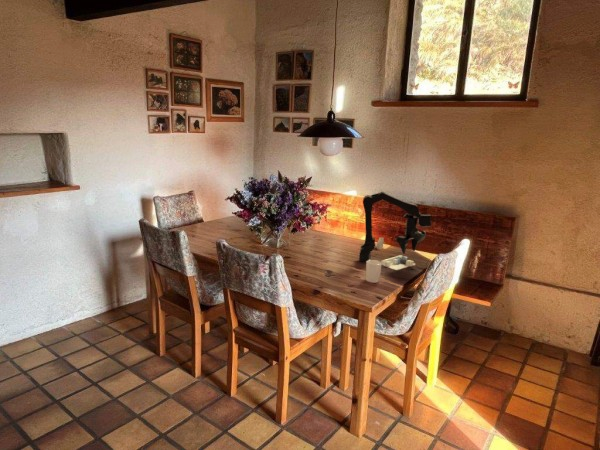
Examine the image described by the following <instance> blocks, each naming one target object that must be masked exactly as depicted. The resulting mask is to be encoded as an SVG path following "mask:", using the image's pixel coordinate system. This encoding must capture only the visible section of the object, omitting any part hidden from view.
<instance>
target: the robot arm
mask: <svg viewBox="0 0 600 450" xmlns="http://www.w3.org/2000/svg"><path fill="white" fill-rule="evenodd" d="M380 201H385V202H387V203H390V204H392V205H394V206H396V207H399V208H401V209H402V210H403V211H405V212H406V213H405V214H404V215H403V218H404V219H406V222H405V223H406V224H405V226H404V229H405V233H403V235H399V236H396V237H395V242H396V243H398V245H399V247H400V249H401V251H402V254H404V255H405V254H406V250H407V245H409V241H411V248H412V251H413V252H414V251H416V248H417V247H418V244H419V243H420V242H423V241H424V240H425V238H426V237H427V232H426V231H425V230H423V231H419V227H425V228H430V227H431V225H432V216H431V214H422V213H421V212H420V209H419V207H418V205H417V204H416V203H415V202H410V201H405V200H403V199H400V198H397V197H395V196H393V195H391V194H388V193H387V192H384V191H380V192H378V193H374V194H366V195H364V197H363V200H362V205H363V210H364V217H365V224H364V225H365V238H364V244H362V245H361V246H360V249H359V256H358V261H359V262H360V263H362V264H363V263H364V264H366V261H368V260H372V259H371V258H372V257H371V256H372V254H371V253H372V252H373V250H374V249H375V247H376V237H375V236H373V227H372V226H373V225H372V224H373V222H372V221H373V220H372V219H373V216H372V212H373V207H374V206H373V205H374V204H376V203H378V202H380ZM418 225H419V227H417V226H418Z"/></svg>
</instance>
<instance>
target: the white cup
mask: <svg viewBox="0 0 600 450" xmlns="http://www.w3.org/2000/svg"><path fill="white" fill-rule="evenodd" d="M365 266H366V267H365V273H366V274H365V275H366V277H365V279H366V282H368V283H373V284H374V283H378V282H380V279H381V272H382V271H381V270H382V266H383V265H382V262H381V261H380V260H377V259H371V260H368V261H366V263H365Z"/></svg>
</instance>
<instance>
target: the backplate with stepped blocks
mask: <svg viewBox="0 0 600 450" xmlns="http://www.w3.org/2000/svg"><path fill="white" fill-rule="evenodd" d="M398 257H400V258H403V259H406V260H408V256H405V255H402V254H399V255H397V256H396V255H395V256H394V257H393V256H392V257H390V258H386V259H382V260H381V261H380V262H382V265H381V266H383V267H386V268H388V269H389V268H390V269H392V270H395V271H400V270H401V269H406V268H408V267H410V266H407V265H406V264H404V263H401V262H400V258H398ZM415 265H416V263H415V262H413V266H415Z"/></svg>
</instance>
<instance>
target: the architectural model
mask: <svg viewBox="0 0 600 450" xmlns="http://www.w3.org/2000/svg"><path fill="white" fill-rule="evenodd" d="M375 246H376V250H378V251H379V250H381V249H383V247H384V237H379V238H378V241H376V242H375Z"/></svg>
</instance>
